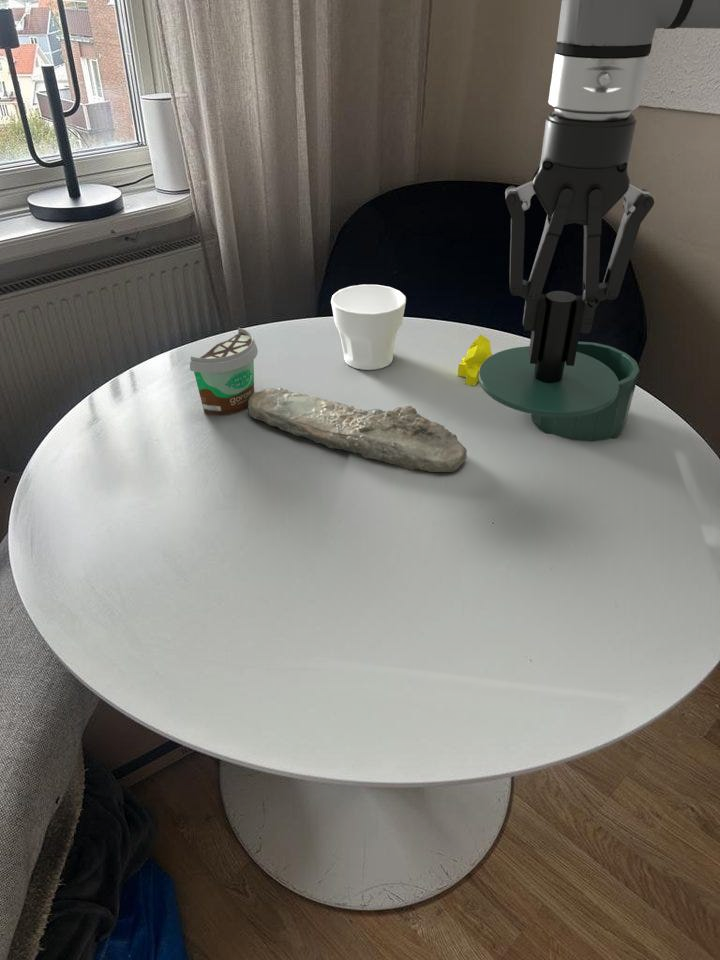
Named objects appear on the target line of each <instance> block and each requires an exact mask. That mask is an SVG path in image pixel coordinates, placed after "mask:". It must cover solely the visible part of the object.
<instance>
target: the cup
mask: <svg viewBox="0 0 720 960" xmlns="http://www.w3.org/2000/svg"><path fill="white" fill-rule="evenodd" d="M406 303H407V297H406V295H405V294H404V293H403V292H401V291H400V290H398V289H396V288H394V287H391V286H386V285H380V284H358V285H350V286H347V287H344V288H341V289H338V291H336V292H334V293H333V295H332V296H331V300H330V304H331V310H332V315H333V320H334V325H335V327H336V329H337V330H338V333H339V338H340V342H341V347H342V352H343V360H344V362H345V364H346V365H348V366H350V367H352V368H353V369H358V370H360V371H361V370H362V371H375V370H381V369H384V368H386V367H388V366H389V365H391V363H392V362H393V359H394V348H395V343H396V338H397V334H398V331H399V330H400V328H401V327H402V325H403V320H404V316H405V315H404V314H405V309H406Z"/></svg>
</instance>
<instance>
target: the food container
mask: <svg viewBox="0 0 720 960" xmlns="http://www.w3.org/2000/svg"><path fill="white" fill-rule="evenodd" d="M237 332H238V333H237V334H235V335H234V336H233V337H231V338H229V339H227V340H224V341H222V342H219V343H217V344H215V345H214V346H213V347H212V348H211V349H210V350H209V351H207V352H206V353H205V354H203V355H202V356H200V357H197V356H196V357H195V356H192V355H190V360H189V371H191V372H193V373H194V377H195V382H196V385H197V389H198V393H199V397H200V401H201V405H202V409H203V412H204V414H209V415H217V416H224V415H232V414H237V413H240V412H242V411H244V410H246V409H248V408H249V407H248V401H249V399H250V398H251V397H252V395H253V393H255V366H254V365H255V363H254V361H255V360H256V357H257V356H258V352H259V351H258V347H257V344H256V341H255V338H254V337H253V335H252V334H251V332H250V331H248V330H246V329H245V328H242V327H237Z"/></svg>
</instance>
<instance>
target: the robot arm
mask: <svg viewBox="0 0 720 960" xmlns="http://www.w3.org/2000/svg"><path fill="white" fill-rule="evenodd" d="M557 28H558V29H557V35H556V45H555V52H554V57H553V63H552V72H551V79H550V86H549V93H548V100H547V103H548V105H549V106H550V108H552V109H553V111H551V112H550V113H548V115H547V116H546V117H545V124H544V131H543V139H542V147H541V154H540V161H539V165H538V167H537V169H536V171H535V172H534V174H533V176H532V179H531V181H528V182H526V183H523V184H521V185H519V186H517V187H516V186H515V185H510V186H508V187H507V188H506V189H505V190H504V191H505V192H504V196H505V198H504V199H505V204H506V208H507V209H508V212H509V215H510V240H509V241H510V242H509V243H510V244H509V245H510V246H509V278H508V279H509V281H508V282H509V292H510V295H512V296H513V297H517V296H518V297H521V298H523V299H524V300H525V301H524V306H523V307H524V308H523V316H522V327H523V330H524V331H525V332H526V331H527V332H531V334H530V341H529V346H530V347H529V358H530V364H537V363H538V357H539V350H540V344H541V337H542V331H543V324H544V318H545V311H546V300H545V298H546V294H545V293H542V292H543V289H544V286H545V284H546V280H547V277H548V274H549V271H550V267H551V264H552V262H553V257H554V256H555V255H554V254H555V252H556V249H557V245H558V242H559V239H560V237H561V235H562V232H563V229H564V226H568V225H571V224H577V225H581V226H583V261H582V263H583V264H582V265H583V266H582V295H575V296H576V298H577V300H576V305H575V310H574V316H573V322H572V327H571V333H570V338H569V344H568V349H567V355H566V360H565V361H566V366H574V362H575V357H576V352H577V346H578V342H580V335H581V334H589V333H591V330H592V328H593V323H594V319H595V313H596V308H597V307H598V306H599V304H600V302H602V301H606V300H610V301H613V300H616V299H617V298H618V297H619V294H620V292H621V288H622V284H623V281H624V278H625V275H626V272H627V269H628V265H629V262H630V259H631V256H632V253H633V249H634V246H635V243H636V240H637V236H638V234H639V230H640V228H641V224H642V222H643V221H644V220H645V218H646V217H647V215H648V214H649V212H650V211H651V210H652V208H653V207H654V205H655V198H653V196H652V195H651V193H650V191H649V190H647V188H641V189H640V188H638V187H636V186H634V185H633V184H631V180H630V177H629V174H628V164H629V159H630V156H631V151H632V145H633V140H634V135H635V130H636V124H637V119H636V118H635V115H634V114H632V113H631V112H633V111H635V110H636V109H637V108H639V107H640V105H641V100H642V95H643V89H644V84H645V79H646V73H647V67H648V62H649V58H650V54H651V51H652V47H653V40H654V36H655V32H656V30H657V29H664V30H675V29H716V30H717V29H719V30H720V0H561V4H560V12H559V22H558V27H557ZM534 195H535V196H536V197H537V199H538V200H539V202H540V204H541V205H542V207H543V209H544V211H545V213H546V218H545V223H544V227H543V231H542V235H541V237H540V241H539V245H538V248H537V251H536V255H535V258H534V262H533V264H532V268H531V272H530V274H529V278H528V280H526V279H524V263H525V262H524V261H525V258H524V257H525V233H526V216H525V212H526V211H527V210H529V209H530V207H531V204H532V203H531V201H532V200H531V199H532V197H533V196H534ZM622 198H623V201H622V209H623V210H624V212H623V214H622V218H621V220H620V221H621V222H620V224H619V227H618V231H617V233H616V237H615V241H614V244H613V246H612V251H611V254H610V258H609V261H608V263H607V264H608V265H607V267H606V271H605V275H604V279H603V281H602V282H600V261H601V259H600V258H601V236H602V225H603V223H602V222H603V218H604V217H605V216H606V215H607V214H608V212H610V210H611V209H613V207H614V206H616V204H617V203H618V202H619V201H620V200H621V199H622Z"/></svg>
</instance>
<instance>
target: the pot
mask: <svg viewBox="0 0 720 960" xmlns="http://www.w3.org/2000/svg"><path fill="white" fill-rule="evenodd" d="M577 352H579V353H582V354H585V355H588V356H590V357H592V358H594V359H596V360H598V361H600V362H602V363H603V364H605V365H606V366H607V367H609V368H610V369H611V370H612V371H613V372H614V374H615V375H616V376H617V379H618V381H619V391H618V394H617V397H616V398H615V400H614V401H613V402H612V403H611V404H610V405H609V406H607V407H605V408H604V409H602V410H599V411H597V412H594V413H591V414H587V415H582V416H574V417H549V416H540V415H534V414H530V416H531V417H530V418H531V420H532V422H533V424H534V425H535V426H536V427H537V428H538V429H539V430H540V431H541V432H543V433H545V434H547V435H554V436H557V437H560V438H564V439H566V440H567V439H568V440H571V441H580V442H597V441H605V440H609V439H610V440H615V439H616V438H618V437H619V436H620V435H621V434H622V432H623V431H624V427H625V426H626V423H627V420H628V416H629V413H630V409H631V404H632V400H633V398H634V394H635V393H634V392H635V390H636V386H637V381H638V377H639V374H640V367H639V365H638V362H637V361H636V359H634V358H633V357H632V356H631V355H629V354H628V353H626V352H625V351H622V350H620V349H618V348H616V347H613V346H611V345H607V344H603V343H598V342H592V341H591V342H589V341H578V346H577Z"/></svg>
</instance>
